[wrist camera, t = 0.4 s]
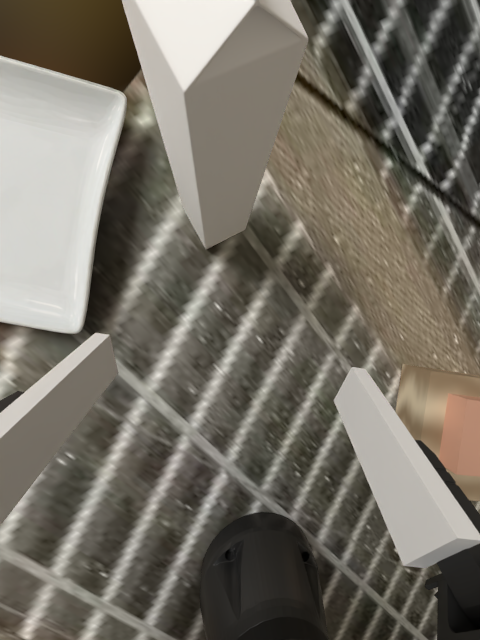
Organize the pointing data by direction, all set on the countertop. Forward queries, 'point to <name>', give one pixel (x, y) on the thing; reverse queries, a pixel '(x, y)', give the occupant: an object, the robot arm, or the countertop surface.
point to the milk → (218, 97)
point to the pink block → (461, 435)
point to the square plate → (52, 191)
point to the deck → (434, 410)
